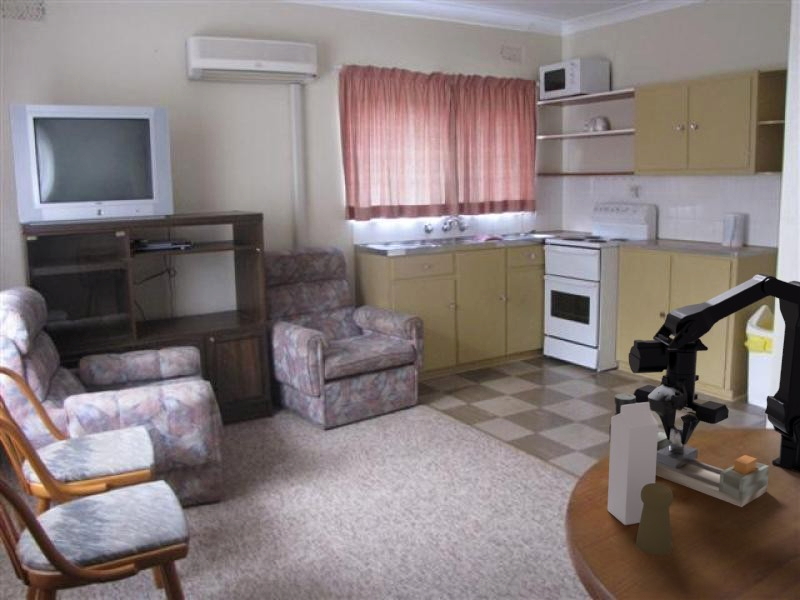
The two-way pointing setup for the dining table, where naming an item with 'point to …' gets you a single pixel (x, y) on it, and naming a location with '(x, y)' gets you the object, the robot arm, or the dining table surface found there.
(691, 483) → the rail track
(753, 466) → the orange block
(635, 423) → the milk
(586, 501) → the dining table surface
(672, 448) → the carriage
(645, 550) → the olive pawn
